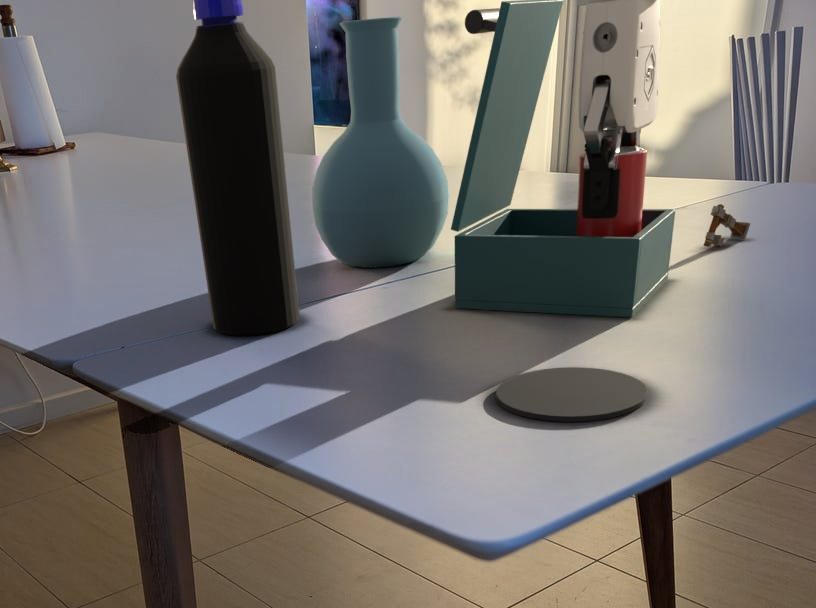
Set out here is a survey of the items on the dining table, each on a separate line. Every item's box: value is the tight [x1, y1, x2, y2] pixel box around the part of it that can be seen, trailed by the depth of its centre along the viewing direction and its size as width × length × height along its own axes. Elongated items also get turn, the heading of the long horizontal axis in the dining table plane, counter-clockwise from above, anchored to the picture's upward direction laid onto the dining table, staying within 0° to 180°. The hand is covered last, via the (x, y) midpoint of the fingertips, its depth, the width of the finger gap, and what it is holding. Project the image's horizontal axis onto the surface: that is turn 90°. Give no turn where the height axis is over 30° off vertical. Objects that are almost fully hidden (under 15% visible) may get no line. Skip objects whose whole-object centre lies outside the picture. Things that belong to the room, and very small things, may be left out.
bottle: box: [175, 0, 300, 337], centre depth 85 cm, size 9×9×28 cm
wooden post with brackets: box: [703, 203, 751, 248], centre depth 106 cm, size 2×8×4 cm, turn 133°
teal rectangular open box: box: [454, 208, 676, 319], centre depth 91 cm, size 18×15×7 cm
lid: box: [450, 0, 564, 233], centre depth 88 cm, size 18×15×5 cm
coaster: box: [495, 366, 649, 423], centre depth 68 cm, size 11×11×1 cm
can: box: [576, 146, 648, 237], centre depth 87 cm, size 6×6×11 cm
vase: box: [311, 15, 450, 268], centre depth 108 cm, size 16×16×25 cm
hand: (609, 209), depth 87 cm, fingers closed on can, 6 cm apart
